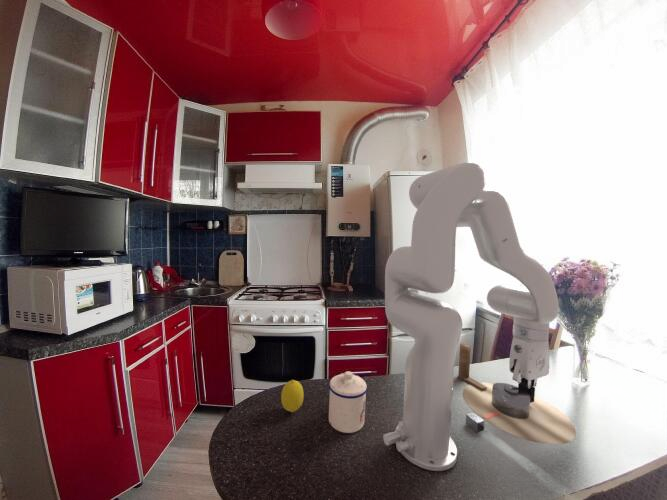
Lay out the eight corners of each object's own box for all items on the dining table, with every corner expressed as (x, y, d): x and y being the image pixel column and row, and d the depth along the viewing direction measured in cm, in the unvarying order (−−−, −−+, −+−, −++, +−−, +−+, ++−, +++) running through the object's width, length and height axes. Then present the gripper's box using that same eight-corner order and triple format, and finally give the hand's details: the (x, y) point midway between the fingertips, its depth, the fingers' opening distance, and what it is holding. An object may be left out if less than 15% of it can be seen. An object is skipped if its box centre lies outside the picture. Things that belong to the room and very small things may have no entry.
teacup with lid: (369, 434, 56) (371, 383, 56) (328, 435, 55) (331, 383, 55) (359, 400, 68) (361, 358, 68) (325, 400, 67) (327, 358, 67)
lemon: (276, 411, 62) (277, 379, 62) (293, 401, 66) (295, 372, 66) (289, 423, 59) (291, 389, 58) (307, 412, 63) (308, 380, 62)
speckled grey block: (476, 433, 58) (477, 422, 58) (465, 424, 61) (466, 414, 61) (483, 430, 59) (484, 420, 59) (472, 421, 62) (472, 412, 62)
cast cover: (515, 422, 60) (517, 399, 60) (484, 401, 68) (485, 381, 67) (536, 415, 63) (538, 393, 63) (504, 396, 71) (505, 377, 70)
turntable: (539, 467, 49) (543, 409, 49) (429, 386, 76) (431, 348, 76) (602, 433, 59) (606, 385, 59) (485, 372, 86) (487, 339, 85)
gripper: (528, 341, 61) (523, 415, 61) (562, 334, 67) (558, 401, 67) (497, 330, 68) (493, 397, 68) (531, 325, 73) (527, 386, 74)
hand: (525, 399), depth 68 cm, fingers closed
